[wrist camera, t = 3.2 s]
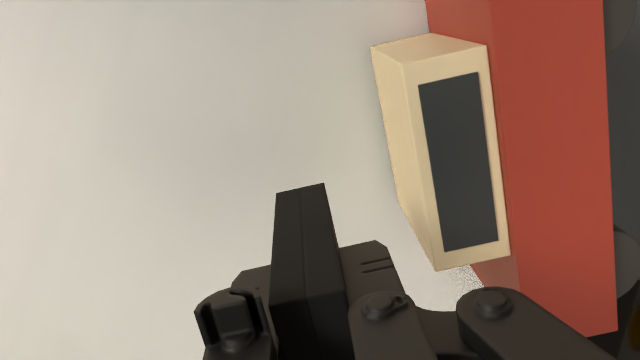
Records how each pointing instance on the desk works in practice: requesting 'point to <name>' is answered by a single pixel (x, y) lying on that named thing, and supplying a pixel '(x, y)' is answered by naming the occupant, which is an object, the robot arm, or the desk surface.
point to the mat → (625, 130)
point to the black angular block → (624, 328)
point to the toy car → (513, 148)
